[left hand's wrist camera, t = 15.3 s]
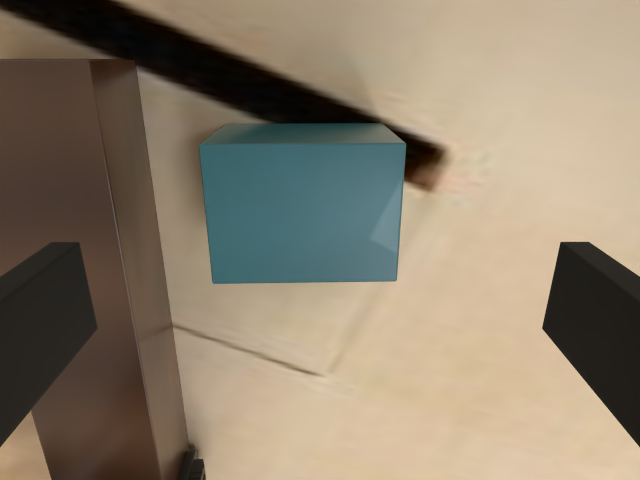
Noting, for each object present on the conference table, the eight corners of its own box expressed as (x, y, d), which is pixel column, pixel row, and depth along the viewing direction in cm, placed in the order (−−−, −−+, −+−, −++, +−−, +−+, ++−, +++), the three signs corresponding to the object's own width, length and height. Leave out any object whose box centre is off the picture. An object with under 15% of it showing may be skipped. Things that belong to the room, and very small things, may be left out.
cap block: (224, 123, 23) (197, 144, 17) (382, 122, 23) (406, 142, 17) (233, 234, 25) (212, 284, 19) (377, 233, 25) (397, 282, 20)
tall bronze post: (8, 59, 22) (-75, 59, 17) (135, 59, 22) (88, 59, 17) (109, 488, 32) (75, 561, 27) (195, 486, 32) (175, 559, 27)
